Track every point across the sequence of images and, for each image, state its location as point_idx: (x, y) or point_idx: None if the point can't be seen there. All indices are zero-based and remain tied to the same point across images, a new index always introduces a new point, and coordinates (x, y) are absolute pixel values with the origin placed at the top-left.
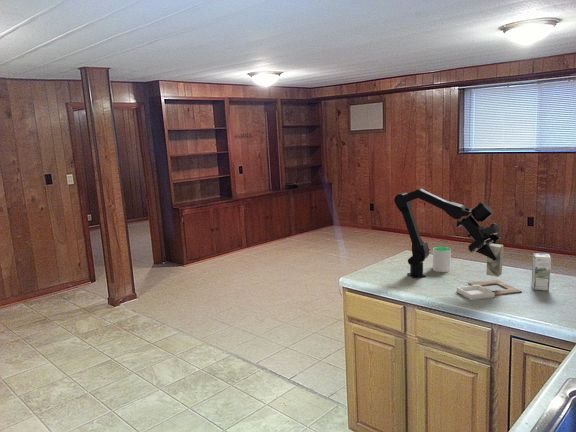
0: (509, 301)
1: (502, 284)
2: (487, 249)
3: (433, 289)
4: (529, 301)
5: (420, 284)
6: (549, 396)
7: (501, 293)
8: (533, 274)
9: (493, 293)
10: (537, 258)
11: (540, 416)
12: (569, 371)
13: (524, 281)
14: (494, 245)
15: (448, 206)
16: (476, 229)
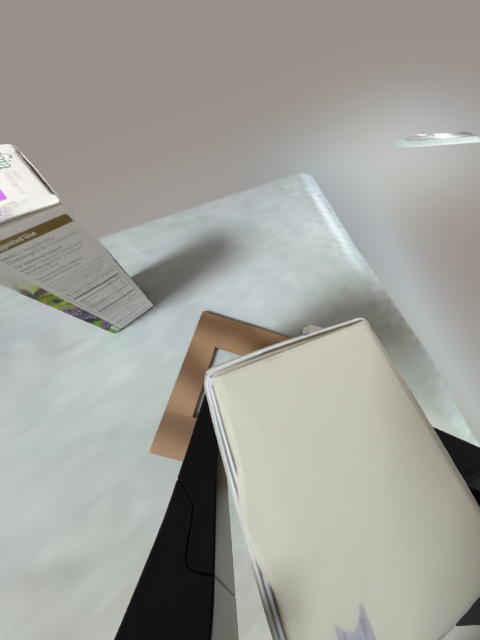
0: (289, 291)
1: (190, 391)
2: (458, 454)
3: None
4: (248, 265)
5: None
6: (442, 140)
7: (269, 331)
8: (115, 293)
9: (312, 325)
10: (66, 205)
11: (465, 136)
12: (396, 142)
13: (73, 382)
14: (396, 453)
15: None
16: None
